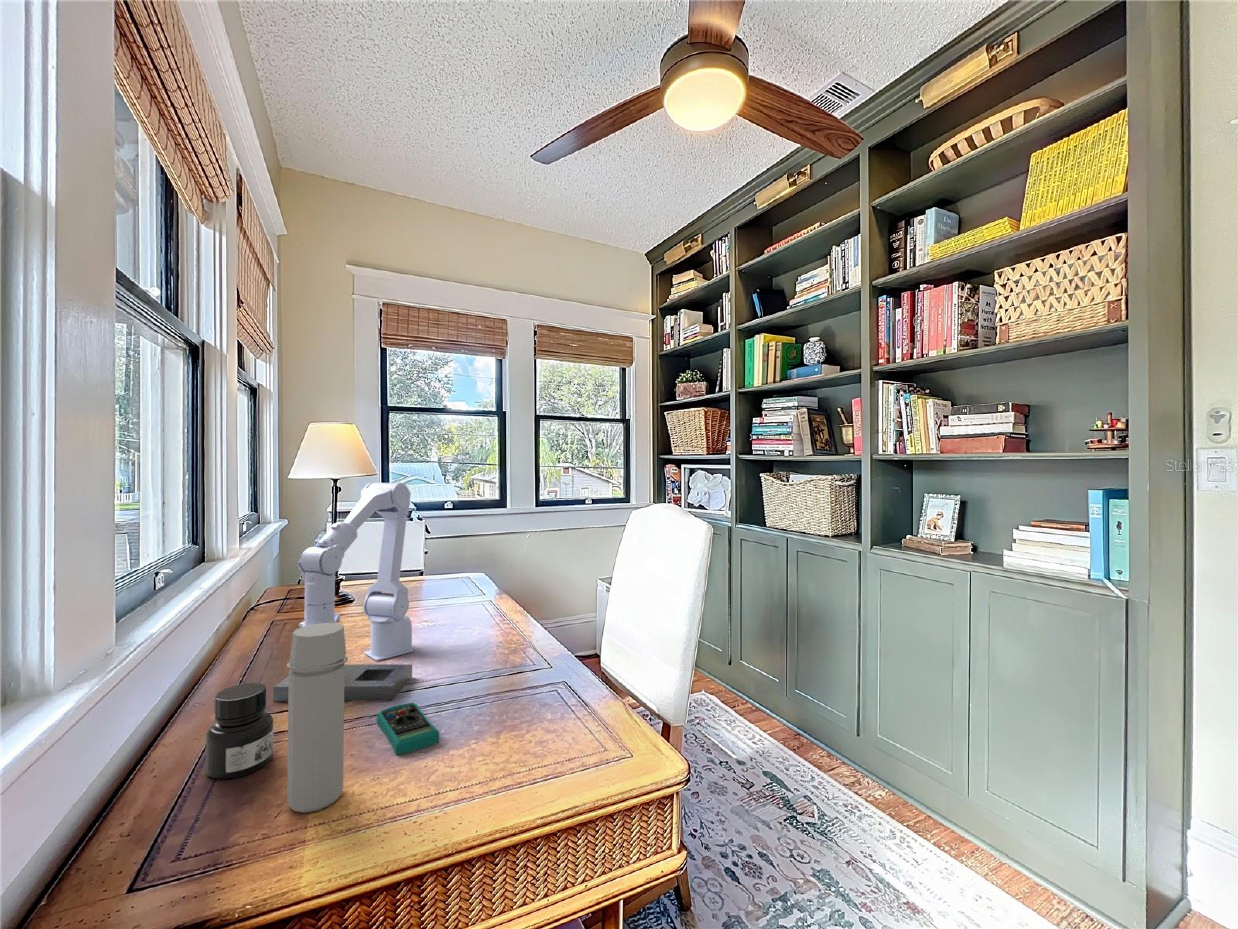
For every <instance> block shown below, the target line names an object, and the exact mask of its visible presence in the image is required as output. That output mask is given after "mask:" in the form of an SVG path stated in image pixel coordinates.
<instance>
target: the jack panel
mask: <svg viewBox="0 0 1238 929" xmlns="http://www.w3.org/2000/svg"><path fill="white" fill-rule="evenodd" d="M412 678H413V664H411V663H410V664H409V663H408V664H395V663H394V664H392V663H391V664H386V663H385V664H377V663H376V664H373V663H372V664H370V663H369V664H365V663H364V664H362V663H361V664H360V663H359V664H345V667H344V702H381V701H382V702H392V701H393V700H394V699H395V698H396V697H397V696H398V694H400V692H402V690H403V689H404V688H405V687H406V685H407V684H408V683H409V682H410V681H411V679H412ZM288 688H289V676H287V677H285V678H284V679H282V680H281V681H280V682H278V683H277V684H275V685H274V686H273V702H288Z"/></svg>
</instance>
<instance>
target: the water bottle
mask: <svg viewBox="0 0 1238 929" xmlns="http://www.w3.org/2000/svg"><path fill="white" fill-rule="evenodd" d="M291 637H292V638H291V645H290V654H289V662H287V664H286V667H287V668H288V669H289V672H288V677H289V688H288V701H287V703H288V704H287V707H288V708H287V709H288V711H287V786H286V787H287V794H286V795H287V796H286V797H287V798H286V799H287V803H286V804H287V805H288V806H289V807H290V809H291V810H292V811H293V812H296V813H303V814H305V813H312V812H317V811H318V812H319V811H320V810H322V809H324V808H327V807H329V806H331V805H332V804H333V803H335V801H337V800H338V799H339V798H340V797H341V795H342V793H343V789H344V756H345V755H344V752H345V751H344V750H345V749H344V746H345V744H344V741H345V740H344V739H345V737H344V736H345V734H344V733H345V732H344V731H345V729H344V728H345V723H344V722H345V701H344V667H345V665H346V664H345V663H347V662H348V661H349V657H347V656H346V655H347V647H346V636H345V627H344V625H343V624H341V623H339V622H338V623H320V624H313V625H308V626H304V627H299V628H297V629H295V630H294V631H293V632H292V636H291Z"/></svg>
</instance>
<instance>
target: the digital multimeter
mask: <svg viewBox="0 0 1238 929" xmlns="http://www.w3.org/2000/svg"><path fill="white" fill-rule="evenodd" d="M376 724H377V726H378V727H379V728H380V730H382V732H383V733H384V735H385V736H386V738H387V739H388V742H389V743H390V744H391V745H390V746H391V747H392V749H393V752H394V754H395V755H396V756H401V755H405V754H408V753H412V752H416V751H419V750H418V749H420V750H423V749H426V748H428V746H429V747H431V745H432V746H434V745H436V744H435V743H437V744H438V743H440V731H439V729H437V728H436V727H435V726H434V725H433V724H432V723H431V722H430V721H429V720H428V718H427V717H426V715H424V713H423V712H422V711H421V709H420V708H419V706H418V705H417V704H416V702H410V703H409V702H408V703H404V704H398V705H393V706H391V707H387V708H386V709H382V710H380V711H379V712H378V713H377V714H376ZM433 744H434V745H433ZM425 747H426V748H425ZM422 748H423V749H422ZM415 750H416V751H415ZM404 753H405V754H404Z"/></svg>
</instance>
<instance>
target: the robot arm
mask: <svg viewBox="0 0 1238 929" xmlns="http://www.w3.org/2000/svg"><path fill="white" fill-rule="evenodd" d="M410 502H411V491H410V490H409V488H408V486H407V485H406V484H405V483H404V482H394V483H393V482H375V481H374V482H373V481H371V482H368V483H367V484H366V485H365V486H364V488H362V490H361V491H360V499H359V500H358V502H357V503H356V505H355V506H353V508H352V510H351V511H350V513H349V514H348V515H347V516H346V518H345V519H344V521H337V522H335V523H332V524H331V526H330V529H329V530H328V531H327V532H326V533H325V534H324V535H323V536H322V538H320V540H318V541H317V543H316V544H315V545H314V546H311V547H308V548H306V549H305V550H304V551H303V552H302V553H301V555H300V558H299V561H297V566H298V569H299V571H300V572H301V577H302V580H303V582H304V616H303V617H304V618H303V619H304V621H301V622H300V623H298V627H299V628H301V627H304V626H308V625H313V624H320V623H338V624H339V623H340V622H341V613H338V612H335V611H336V610H335V606H336V605H335V604H336V598H335V597H336V596H335V595H336V588H335V587H336V572H338V571H339V570H340V568H341V566H342V563H343V559H344V557H345V553H346V552H347V550H348V549H349V548H350V547H351V546H352V544H353V543H354V542H355V541H356V540H357V538H358V531H357V530H359V528H361V526H362V525H363V524H364V523H365V522H366V521H367V520H368V519H369V518H370V517H371V516H372V515H373V514H374V513H375V512H376V514H378V515H380V516H381V517H382V519H383V521H384V523H383V528H382V529H383V530H382V538H381V546H380V547H381V548H380V554H379V563H378V572H377V580H376V581H375V582H374V583H373V584H371V585H370V586H369V587H367V593H366V595H365V596H366V597H365V598H364V601H363V602H362V603H363V606H362V608H363V609H362V610H363V613H364V614H365V615H366V617H367V620H368V621H370V647H369V648H370V649H368V650H365V651H363V653H364V654H365V655H367V656H368V657H370V658H371V659H373V660H374V661H377V662H379V661H381V660H382V661H383V660H385V659H386V660H387V659H390V658H394V657H397V656H400V655H405V654H408V653H412V652H414V649H413V647H412V645H413V643H412V641H413V636H412V635H413V626H412V622H411V620H412V619H410V617H409V616H408V615H406V614H407V612H408V611H409V607H410V601H409V596H408V595H409V589H408V587H407V586H405V585H404V584H403V583H402V582H401V581H400V580H401V579H400V578H401V570H402V563H403V562H402V560H403V552H404V544H405V534H406V526H407V520H408V519H407V517H408V515H409V510H410Z"/></svg>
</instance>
